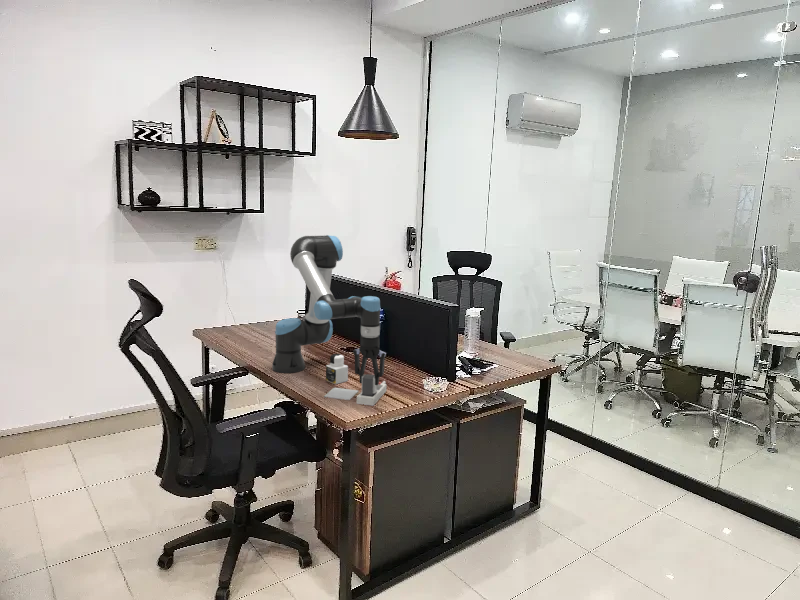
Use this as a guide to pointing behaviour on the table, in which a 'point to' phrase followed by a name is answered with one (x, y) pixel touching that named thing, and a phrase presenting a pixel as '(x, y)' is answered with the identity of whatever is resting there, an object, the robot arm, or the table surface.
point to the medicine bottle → (336, 369)
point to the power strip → (372, 400)
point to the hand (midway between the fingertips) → (369, 391)
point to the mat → (341, 393)
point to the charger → (368, 385)
